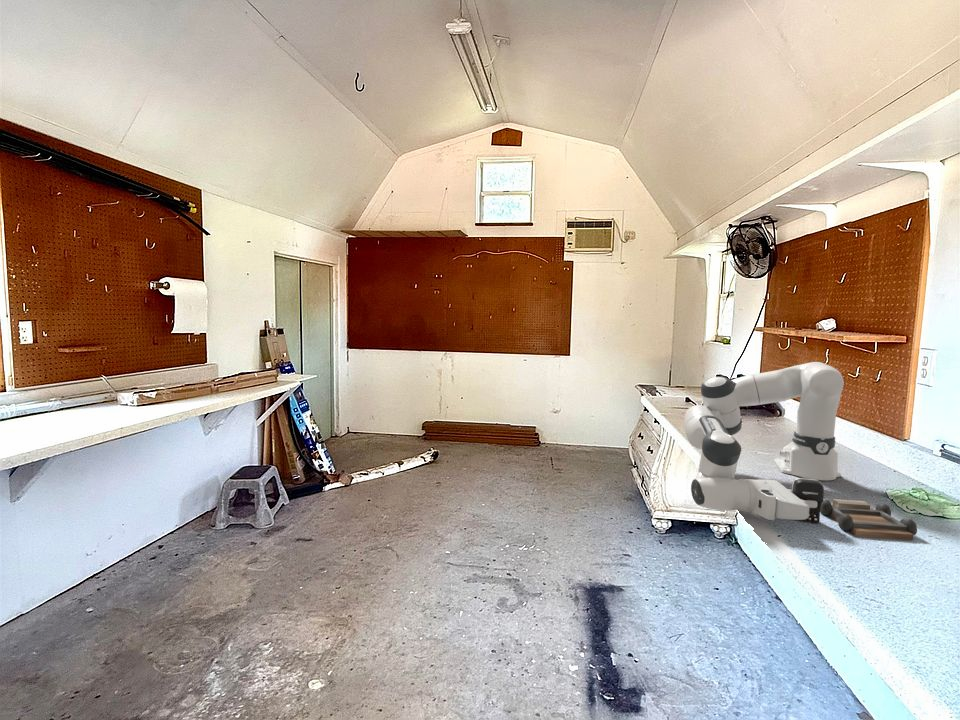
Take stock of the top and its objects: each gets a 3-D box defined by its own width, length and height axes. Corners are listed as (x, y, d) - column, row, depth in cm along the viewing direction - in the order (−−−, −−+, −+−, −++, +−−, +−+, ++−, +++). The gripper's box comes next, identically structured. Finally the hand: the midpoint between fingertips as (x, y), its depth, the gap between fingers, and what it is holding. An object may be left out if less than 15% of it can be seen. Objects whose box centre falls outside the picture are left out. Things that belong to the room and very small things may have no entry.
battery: (792, 522, 135) (796, 481, 134) (788, 516, 138) (792, 476, 137) (822, 525, 133) (826, 484, 131) (817, 520, 136) (821, 479, 135)
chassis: (815, 509, 144) (816, 495, 143) (877, 513, 141) (879, 499, 141) (849, 535, 127) (850, 520, 127) (920, 541, 125) (922, 525, 124)
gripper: (741, 493, 147) (792, 496, 145) (770, 522, 127) (829, 527, 125) (743, 472, 147) (793, 475, 145) (772, 498, 127) (832, 502, 125)
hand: (810, 499), depth 135 cm, fingers closed on battery, 4 cm apart
